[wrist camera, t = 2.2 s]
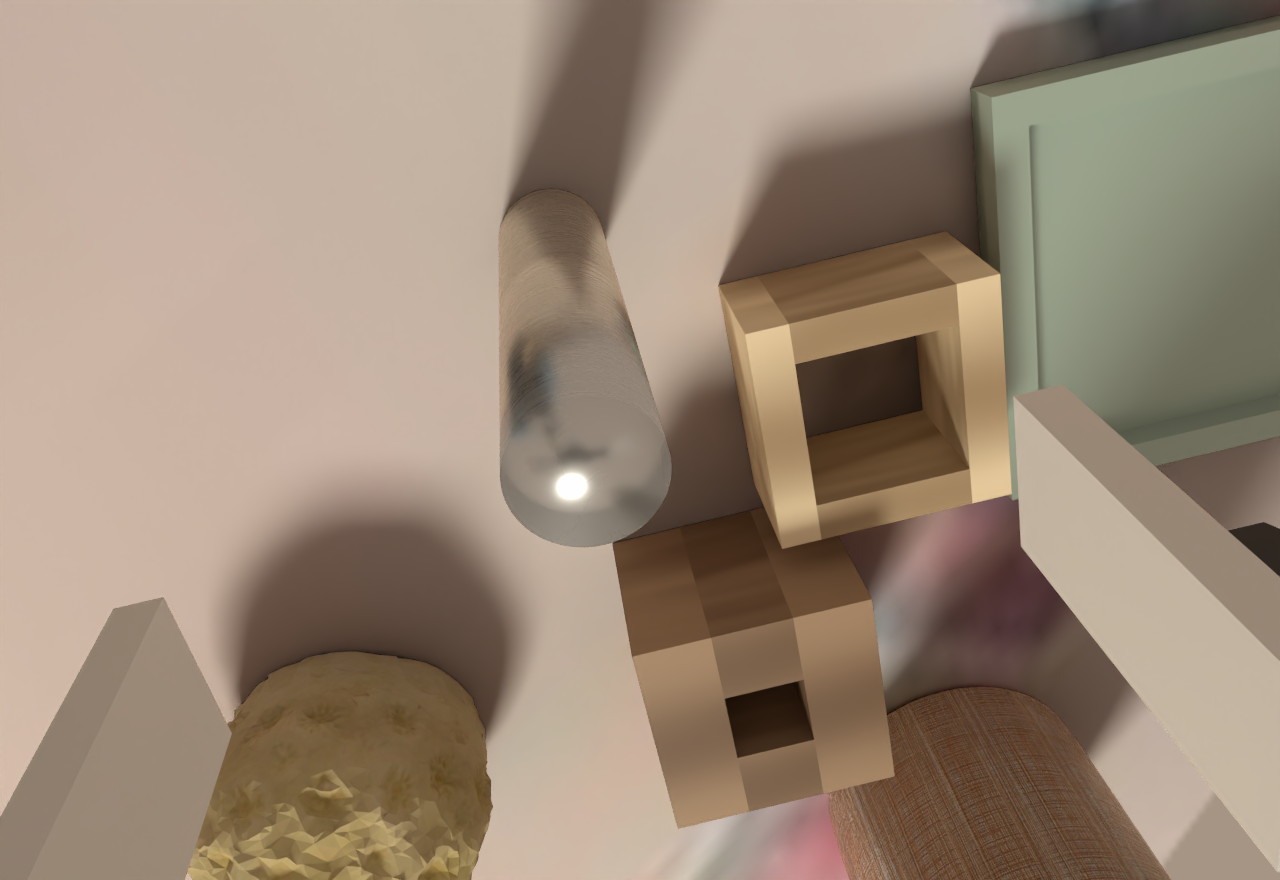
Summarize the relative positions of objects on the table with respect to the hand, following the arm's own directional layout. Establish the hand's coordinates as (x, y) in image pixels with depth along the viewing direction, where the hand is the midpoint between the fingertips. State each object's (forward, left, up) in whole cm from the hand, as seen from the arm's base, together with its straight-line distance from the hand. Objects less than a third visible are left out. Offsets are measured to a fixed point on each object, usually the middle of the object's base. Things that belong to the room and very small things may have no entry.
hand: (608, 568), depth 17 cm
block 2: (+14, +3, -17) cm, 22 cm away
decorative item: (+16, -11, -17) cm, 26 cm away
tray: (+5, +19, -17) cm, 26 cm away
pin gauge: (0, 0, -17) cm, 17 cm away
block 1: (+6, +8, -17) cm, 19 cm away
